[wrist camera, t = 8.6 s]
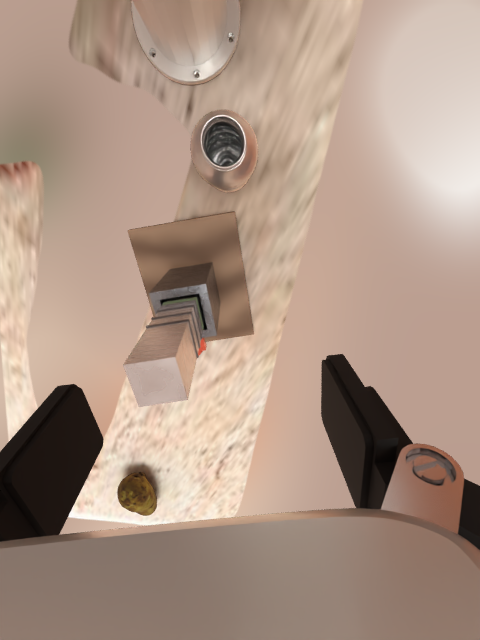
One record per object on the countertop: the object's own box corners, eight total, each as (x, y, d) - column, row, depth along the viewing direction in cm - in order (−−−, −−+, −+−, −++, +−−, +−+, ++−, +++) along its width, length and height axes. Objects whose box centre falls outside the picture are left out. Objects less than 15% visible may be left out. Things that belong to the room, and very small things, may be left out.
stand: (130, 229, 44) (90, 242, 31) (234, 211, 43) (235, 217, 31) (165, 344, 52) (143, 391, 39) (253, 330, 51) (259, 373, 38)
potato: (122, 496, 67) (109, 533, 60) (126, 457, 62) (112, 492, 55) (158, 501, 68) (149, 537, 61) (165, 462, 63) (156, 497, 56)
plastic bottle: (221, 201, 42) (213, 206, 24) (195, 157, 40) (163, 124, 22) (259, 176, 41) (280, 160, 23) (234, 128, 39) (235, 67, 20)
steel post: (171, 287, 39) (121, 364, 21) (202, 282, 39) (176, 355, 21) (179, 315, 41) (138, 407, 23) (208, 310, 41) (189, 400, 23)
